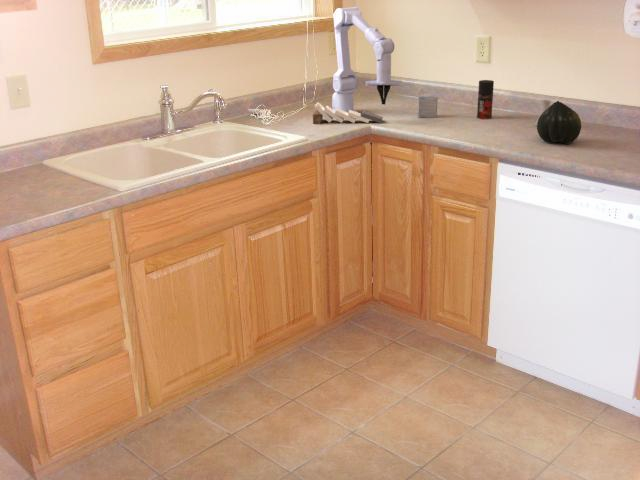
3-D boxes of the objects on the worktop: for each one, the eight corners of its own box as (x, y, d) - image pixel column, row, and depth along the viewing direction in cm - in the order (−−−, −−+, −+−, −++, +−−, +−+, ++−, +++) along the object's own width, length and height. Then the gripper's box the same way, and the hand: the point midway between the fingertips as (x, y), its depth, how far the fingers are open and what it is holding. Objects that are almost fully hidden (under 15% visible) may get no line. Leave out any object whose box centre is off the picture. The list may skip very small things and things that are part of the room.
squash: (572, 134, 255) (581, 97, 259) (529, 132, 263) (539, 95, 267) (578, 154, 267) (587, 118, 271) (537, 151, 275) (546, 115, 279)
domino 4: (368, 123, 304) (347, 115, 304) (368, 120, 308) (348, 113, 308) (369, 119, 303) (348, 112, 303) (370, 116, 308) (349, 109, 308)
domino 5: (381, 123, 303) (360, 116, 303) (381, 120, 308) (361, 113, 308) (382, 119, 302) (361, 112, 302) (382, 117, 307) (362, 110, 307)
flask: (555, 124, 293) (557, 99, 290) (552, 128, 287) (554, 103, 284) (536, 123, 296) (538, 98, 293) (533, 127, 290) (535, 102, 286)
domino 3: (354, 123, 304) (334, 113, 304) (355, 120, 309) (335, 111, 309) (355, 119, 304) (336, 110, 303) (356, 117, 308) (337, 107, 308)
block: (313, 123, 305) (312, 114, 304) (315, 119, 312) (315, 110, 311) (320, 123, 305) (320, 114, 303) (322, 119, 312) (322, 110, 311)
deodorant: (475, 118, 307) (477, 82, 301) (478, 115, 312) (480, 79, 306) (490, 119, 305) (492, 82, 299) (492, 116, 310) (494, 80, 304)
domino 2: (341, 123, 305) (323, 110, 304) (342, 120, 310) (324, 108, 309) (343, 120, 305) (325, 107, 304) (344, 117, 309) (326, 105, 308)
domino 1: (329, 122, 306) (314, 106, 304) (330, 120, 310) (315, 104, 309) (332, 120, 305) (317, 104, 303) (333, 117, 310) (318, 101, 308)
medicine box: (436, 115, 315) (437, 94, 311) (437, 117, 310) (437, 97, 307) (417, 115, 315) (418, 95, 312) (418, 117, 311) (418, 97, 308)
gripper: (365, 71, 295) (365, 105, 300) (401, 71, 293) (401, 105, 298) (366, 69, 301) (366, 102, 306) (402, 68, 299) (401, 102, 305)
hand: (383, 104), depth 303 cm, fingers closed
